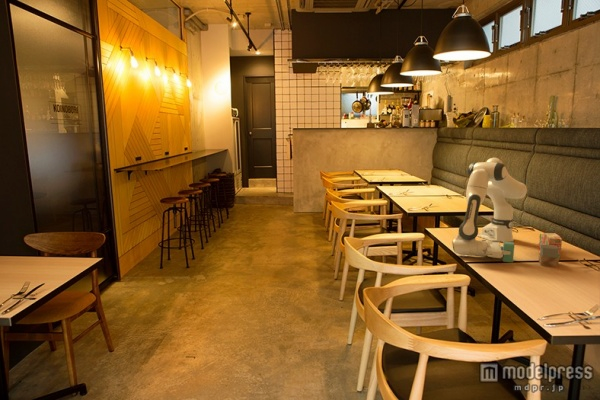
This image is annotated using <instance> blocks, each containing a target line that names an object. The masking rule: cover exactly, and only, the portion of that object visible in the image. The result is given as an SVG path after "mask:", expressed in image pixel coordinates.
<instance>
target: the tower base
mask: <svg viewBox="0 0 600 400" xmlns="http://www.w3.org/2000/svg"><path fill="white" fill-rule="evenodd" d="M538 253H539V256H538V262H539V266H540V267H548V266H549V267H551V268H559V261H560V260H559V258H549V257H542V255H541V254H540V252H538Z"/></svg>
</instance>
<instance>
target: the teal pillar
mask: <svg viewBox="0 0 600 400" xmlns="http://www.w3.org/2000/svg"><path fill="white" fill-rule="evenodd" d="M502 243H503V244H502V246H503V250H504V251H510V252H511V254H510V255H509V254H506V255H502V258H501V259H502V262H504V263H514V255H515V243H514V241H512V242H502Z"/></svg>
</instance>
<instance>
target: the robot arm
mask: <svg viewBox="0 0 600 400" xmlns="http://www.w3.org/2000/svg"><path fill="white" fill-rule="evenodd" d="M466 172H467V176H468V178H469V179H468V182H467V186H466V191H465V192H466V193H465V199H466V204H467V205H466V211H465V216H464V219H463V221H462V223H461V224H460V225H459V227H458V232H457V234H456V236H455V237H454V238H453V239H452V242H451V243H452V250H453V252H454V253H455V254H457V255H463V256H475V257H481V258H482V257H484V258H485V257H486V256H487V257H489V258H495V259H496V258H497V259H502V256H503V255H506V254H509V255H510V254H511V252H510V251H504V250H503V245H502V246H501V242H502V243H503V242H514V236H513V225H514V217H513V214H514V207H513V206H512V205H511V204H510V203H508V201H507V200H506V199H514V200H515V199H516V200H518V199H524V197H526V195H527V193H528V188H527V186H526V184H525V183H523V182H521V181H519V180H517V179H515V178H514V177H512V176H511V175H510V173H509V172H508V170H507V166H506V164H504V162H502V160H501V159H500V158H498V157H490V158H488V159H487V160H486V161H482V162H480V161H479V162H478V161H473V162H471V163H470V164H469V165H468V167H467V171H466ZM486 196H488V197H489V198H490V200H491V202H492V204H493V217H491V218H490V223H487V224H486V225H485V226H483V227H482V228H481V232H480V233H479V227H478V225H477V224H478V223H477V222H478V216H479V211H480V207H481V206H482V204H483V203H484V201H485V199H486ZM477 237H479V238H482V239H481V240H476V238H477ZM487 257H486V258H487Z"/></svg>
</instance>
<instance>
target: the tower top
mask: <svg viewBox="0 0 600 400" xmlns="http://www.w3.org/2000/svg"><path fill="white" fill-rule="evenodd" d="M539 250H540V251H539V253H540V254H541V255H542V257H549V258H558V248H557V247H556V246H554V245H541V249H539Z"/></svg>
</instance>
